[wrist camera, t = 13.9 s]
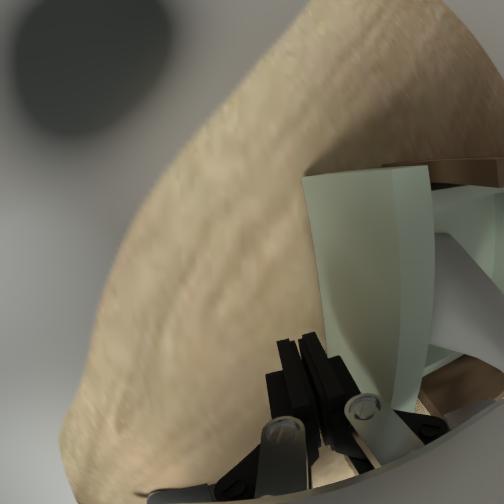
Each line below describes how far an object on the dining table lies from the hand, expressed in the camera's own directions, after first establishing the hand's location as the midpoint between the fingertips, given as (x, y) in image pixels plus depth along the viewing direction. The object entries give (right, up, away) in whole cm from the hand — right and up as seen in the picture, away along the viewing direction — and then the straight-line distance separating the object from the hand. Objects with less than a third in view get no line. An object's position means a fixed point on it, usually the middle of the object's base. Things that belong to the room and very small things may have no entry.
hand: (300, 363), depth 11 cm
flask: (+9, +3, +4) cm, 10 cm away
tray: (+10, +3, +5) cm, 12 cm away
